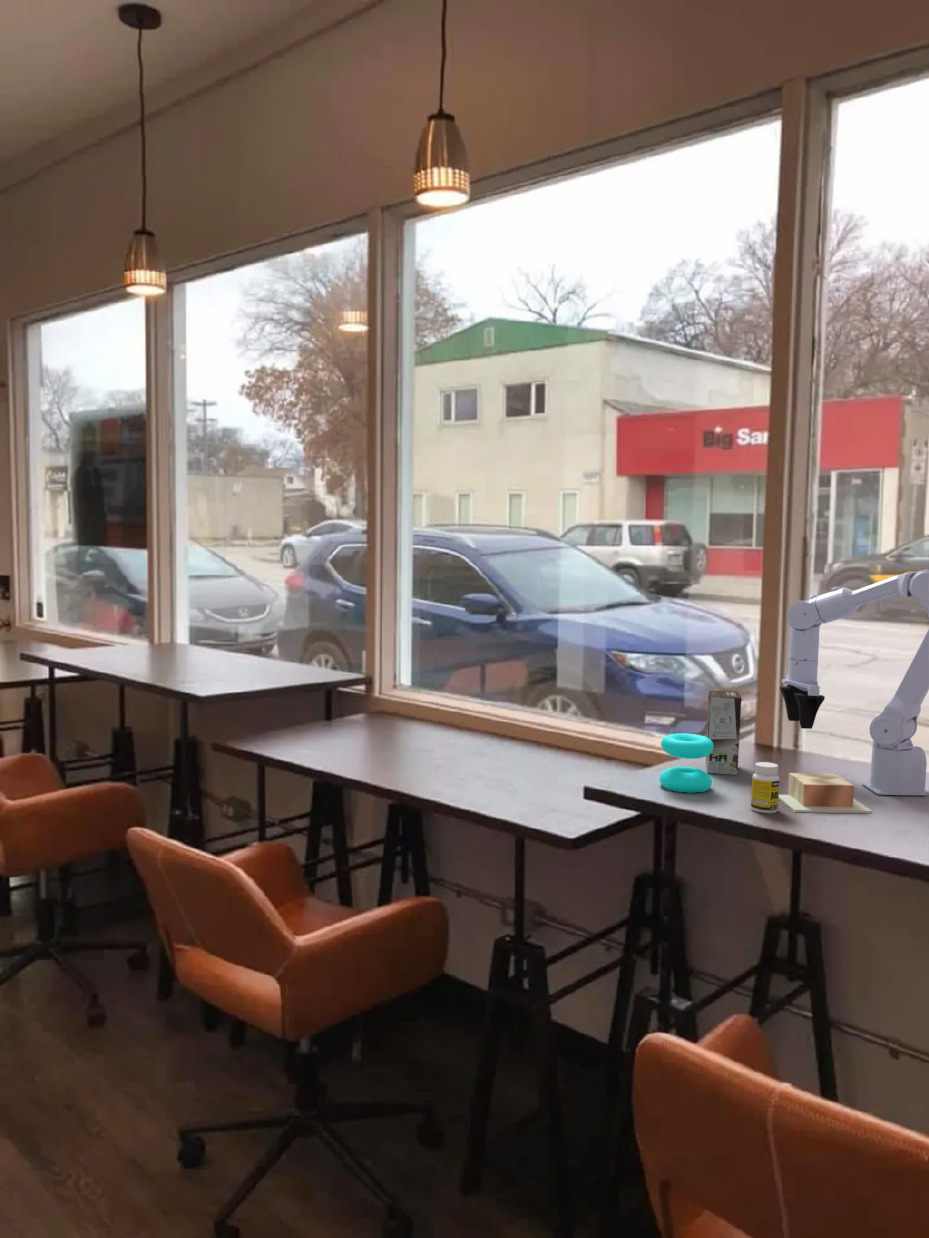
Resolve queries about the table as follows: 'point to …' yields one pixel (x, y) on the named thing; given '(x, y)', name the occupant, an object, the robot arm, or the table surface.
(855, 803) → the green board
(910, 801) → the table surface
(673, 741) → the donuts
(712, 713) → the coffee box
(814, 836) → the table surface
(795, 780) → the birch slab
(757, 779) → the supplement bottle
